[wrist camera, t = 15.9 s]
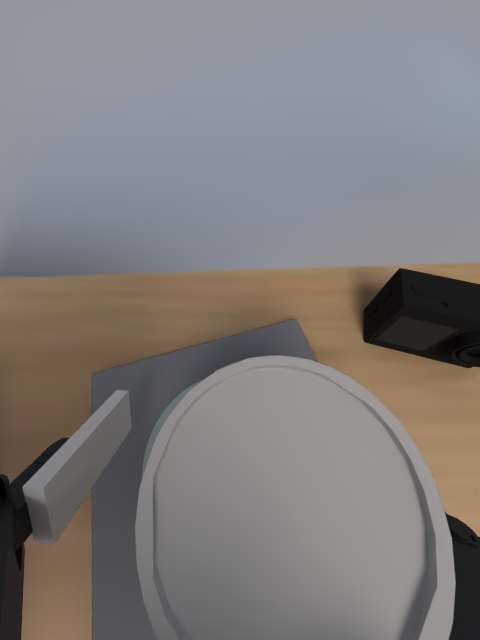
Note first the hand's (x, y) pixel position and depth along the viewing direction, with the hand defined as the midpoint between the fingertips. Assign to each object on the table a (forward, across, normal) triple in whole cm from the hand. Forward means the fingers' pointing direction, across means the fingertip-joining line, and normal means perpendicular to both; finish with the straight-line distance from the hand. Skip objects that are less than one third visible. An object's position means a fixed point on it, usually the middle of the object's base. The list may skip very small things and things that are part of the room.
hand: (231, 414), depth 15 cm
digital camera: (+11, +18, +2) cm, 22 cm away
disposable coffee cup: (+1, +3, -5) cm, 6 cm away
